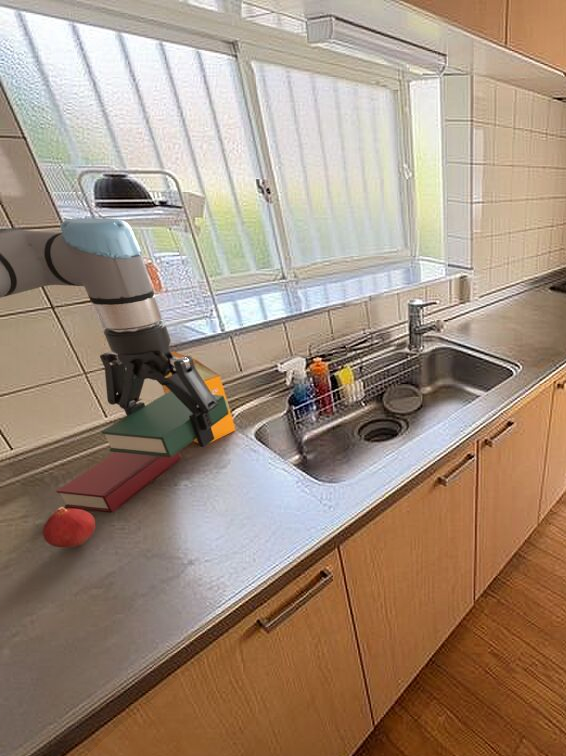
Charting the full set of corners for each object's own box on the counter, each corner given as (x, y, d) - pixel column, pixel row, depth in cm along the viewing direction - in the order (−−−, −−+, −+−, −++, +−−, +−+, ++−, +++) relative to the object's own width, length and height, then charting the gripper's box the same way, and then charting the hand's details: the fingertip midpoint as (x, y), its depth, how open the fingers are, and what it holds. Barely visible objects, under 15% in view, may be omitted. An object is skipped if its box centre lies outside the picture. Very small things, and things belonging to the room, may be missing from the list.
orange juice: (203, 446, 94) (175, 366, 85) (179, 435, 97) (150, 356, 88) (236, 429, 101) (214, 353, 91) (213, 419, 104) (189, 344, 95)
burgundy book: (65, 507, 76) (56, 490, 74) (141, 454, 91) (135, 439, 89) (112, 512, 76) (103, 495, 74) (181, 458, 90) (175, 443, 88)
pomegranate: (47, 563, 66) (23, 526, 62) (64, 536, 71) (42, 500, 67) (95, 552, 68) (74, 516, 65) (108, 527, 73) (89, 492, 69)
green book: (110, 451, 69) (100, 431, 67) (177, 408, 82) (170, 390, 80) (170, 457, 69) (162, 437, 67) (228, 413, 81) (223, 395, 79)
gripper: (221, 322, 69) (251, 434, 79) (88, 311, 70) (135, 422, 80) (185, 338, 62) (224, 458, 72) (39, 326, 63) (97, 445, 73)
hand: (177, 439), depth 76 cm, fingers closed on green book, 10 cm apart
